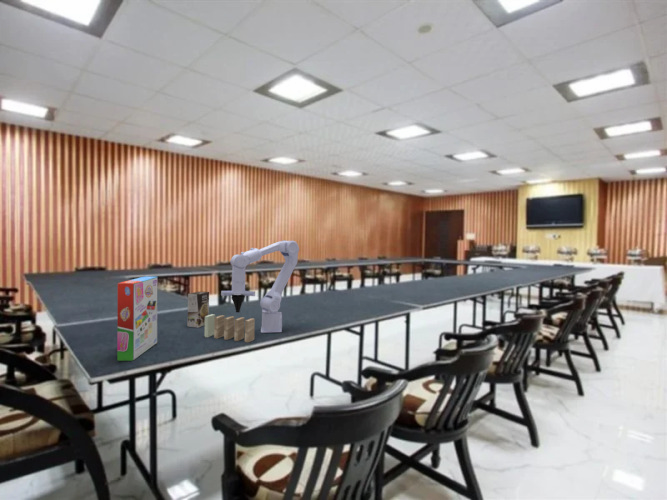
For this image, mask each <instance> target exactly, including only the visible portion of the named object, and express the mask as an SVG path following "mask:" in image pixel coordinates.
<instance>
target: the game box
mask: <svg viewBox="0 0 667 500" xmlns="http://www.w3.org/2000/svg"><path fill="white" fill-rule="evenodd" d="M116 324H117V325H116V326H117V332H116V333H117V336H116V338H117V339H116V340H117V341H116V342H117V343H116V344H117V348H116V349H117V353H116V357H117V358H116V360H117V362H119V361H120V362H121V361H123V362H125V361H126V362H130V361H131V362H133V361H134V360H136V359H137V358H139V356H141V355H143V354H144V353H145V352H147V351H148V350H150V349H151V348H152V347H154V346H155V345H157V344H158V276H149V275H148V276H145V275H144V276H141V277H137V278H134V279H133V278H132V279H129V280H124V281H121V282H118V283H117V323H116Z"/></svg>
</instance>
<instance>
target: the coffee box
mask: <svg viewBox="0 0 667 500" xmlns="http://www.w3.org/2000/svg"><path fill="white" fill-rule="evenodd" d="M209 311H210V291H194V292H191V293H188V294H187V324H186V325H187V327H189V328H190V327H191V328H197V329H198V328H200V327H201V328H202V327H205V316H208V315H210V312H209Z"/></svg>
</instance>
